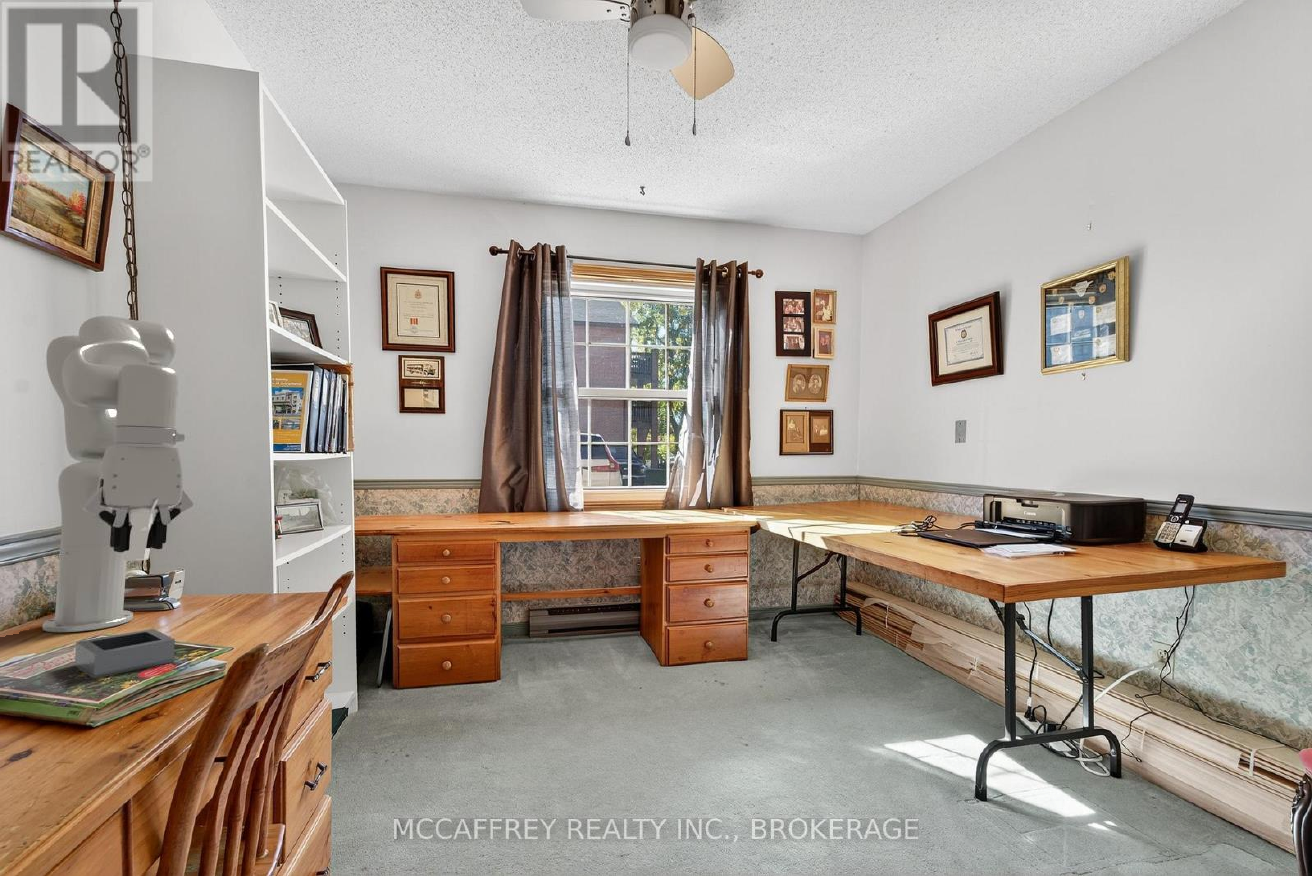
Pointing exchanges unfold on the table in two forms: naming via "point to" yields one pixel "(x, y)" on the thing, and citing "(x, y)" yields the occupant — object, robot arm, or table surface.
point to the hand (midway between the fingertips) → (138, 548)
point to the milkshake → (139, 532)
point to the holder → (123, 653)
